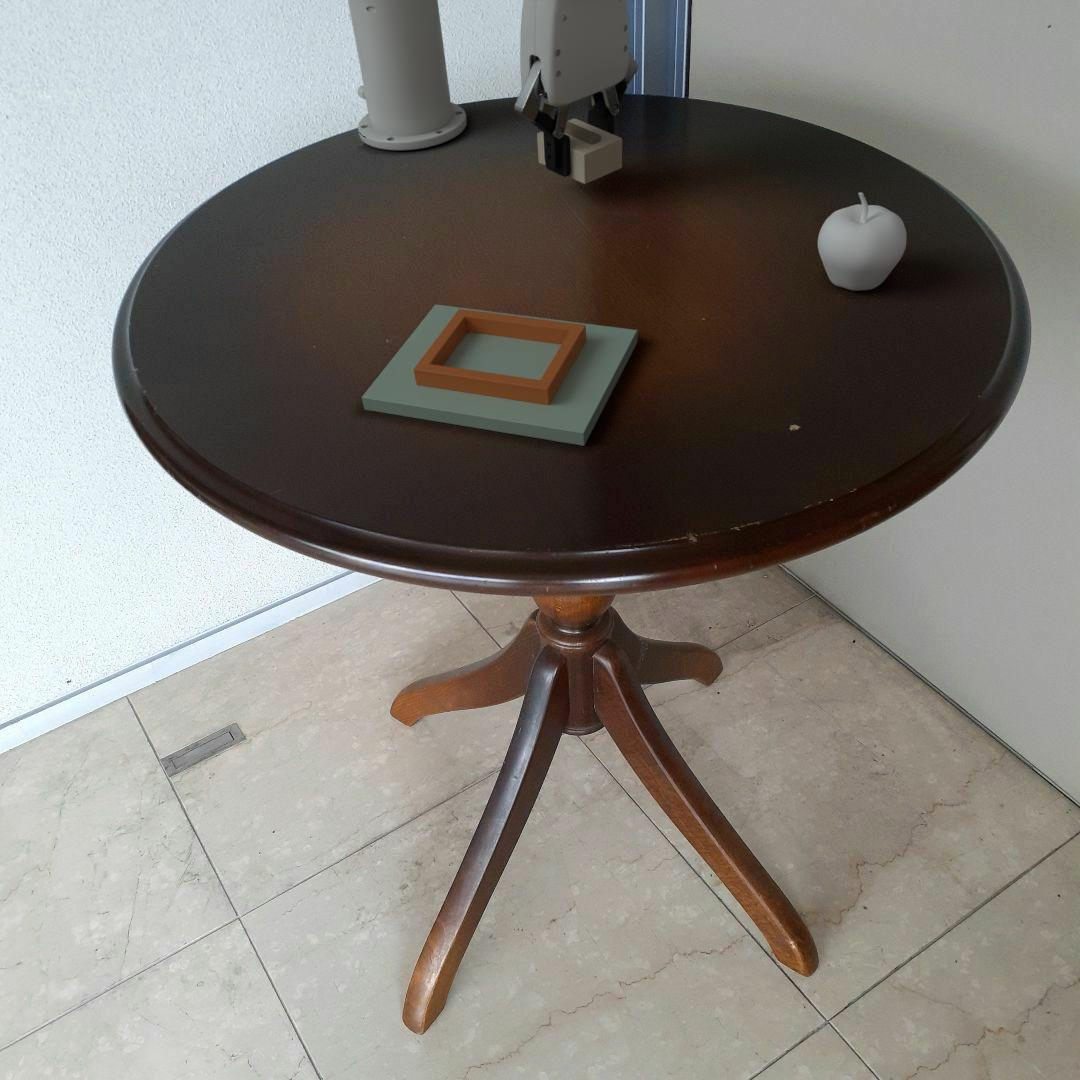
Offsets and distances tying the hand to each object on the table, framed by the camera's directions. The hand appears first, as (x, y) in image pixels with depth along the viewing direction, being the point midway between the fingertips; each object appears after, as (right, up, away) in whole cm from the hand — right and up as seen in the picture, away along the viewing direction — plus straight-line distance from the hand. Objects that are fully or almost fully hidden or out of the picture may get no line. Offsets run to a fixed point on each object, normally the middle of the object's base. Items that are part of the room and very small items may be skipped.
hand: (579, 160), depth 102 cm
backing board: (-7, -25, -21) cm, 33 cm away
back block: (0, 0, 0) cm, 0 cm away
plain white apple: (+23, -16, -14) cm, 31 cm away
